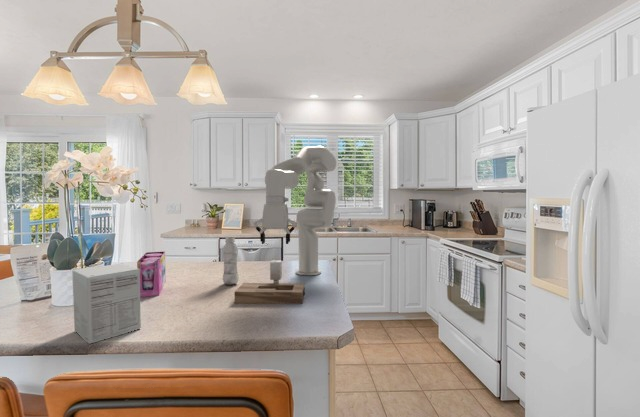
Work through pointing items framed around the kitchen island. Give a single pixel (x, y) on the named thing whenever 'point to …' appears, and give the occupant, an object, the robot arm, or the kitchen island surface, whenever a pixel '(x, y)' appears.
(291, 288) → the keyhole plate
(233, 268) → the plastic bottle
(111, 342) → the kitchen island surface
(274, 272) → the steel peg
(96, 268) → the supplement box
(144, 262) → the gum box
